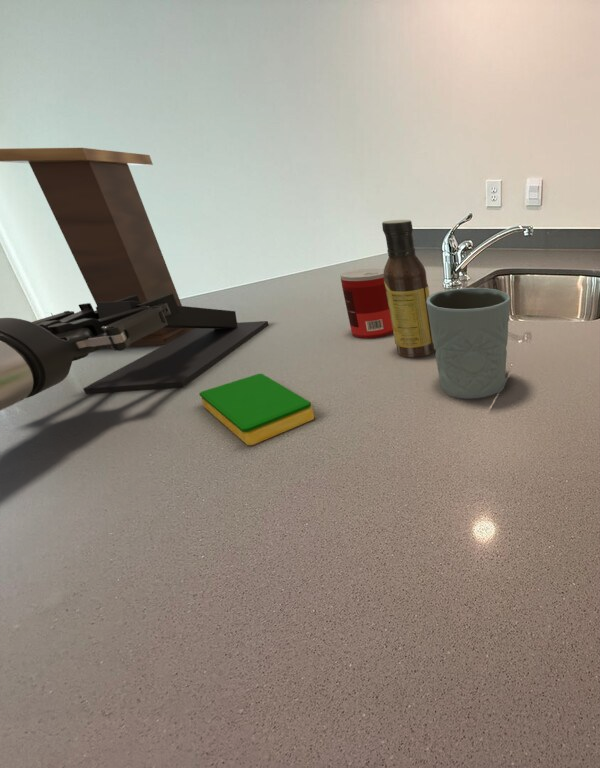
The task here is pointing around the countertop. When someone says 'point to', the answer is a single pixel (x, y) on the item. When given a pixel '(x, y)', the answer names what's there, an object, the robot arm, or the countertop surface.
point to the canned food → (367, 303)
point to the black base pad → (178, 360)
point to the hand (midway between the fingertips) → (155, 303)
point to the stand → (104, 224)
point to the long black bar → (178, 315)
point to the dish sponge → (257, 408)
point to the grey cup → (470, 340)
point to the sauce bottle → (406, 291)
